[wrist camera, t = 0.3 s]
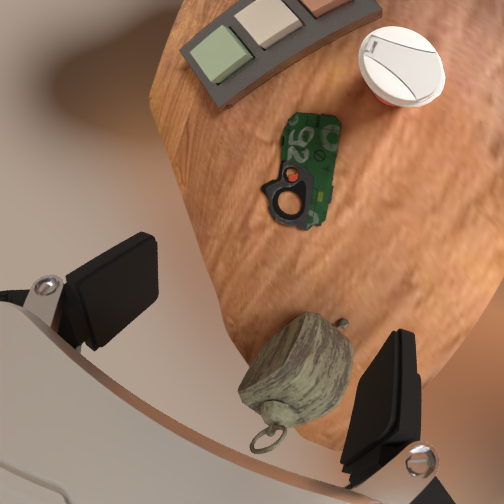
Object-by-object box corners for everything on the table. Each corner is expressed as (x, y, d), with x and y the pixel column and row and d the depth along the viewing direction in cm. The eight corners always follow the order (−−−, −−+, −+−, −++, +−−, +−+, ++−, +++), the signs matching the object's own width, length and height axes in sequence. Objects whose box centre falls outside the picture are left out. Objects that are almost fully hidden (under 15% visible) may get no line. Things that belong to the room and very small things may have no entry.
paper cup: (352, 96, 30) (343, 77, 18) (374, 48, 26) (374, 7, 14) (407, 126, 29) (429, 125, 17) (428, 78, 24) (459, 53, 13)
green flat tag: (268, 107, 34) (343, 117, 31) (271, 107, 35) (344, 118, 32) (257, 218, 42) (323, 234, 39) (260, 215, 43) (325, 230, 40)
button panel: (326, -38, 21) (322, -48, 18) (381, 17, 23) (382, 8, 20) (190, 53, 35) (178, 50, 32) (228, 108, 37) (218, 107, 34)
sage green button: (232, 30, 29) (222, 24, 27) (255, 58, 30) (246, 54, 28) (201, 55, 33) (189, 52, 30) (221, 83, 34) (210, 81, 31)
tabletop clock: (303, 358, 51) (254, 470, 31) (269, 329, 51) (202, 439, 31) (360, 320, 43) (328, 459, 22) (321, 286, 43) (264, 421, 23)
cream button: (278, -1, 25) (270, -10, 23) (304, 27, 26) (298, 19, 24) (243, 22, 28) (233, 15, 26) (267, 50, 29) (258, 45, 27)
